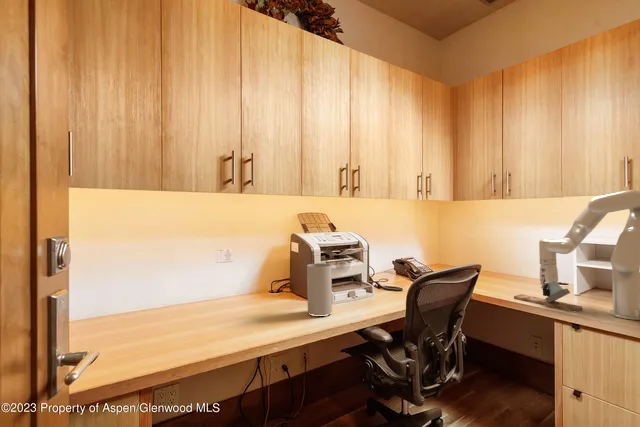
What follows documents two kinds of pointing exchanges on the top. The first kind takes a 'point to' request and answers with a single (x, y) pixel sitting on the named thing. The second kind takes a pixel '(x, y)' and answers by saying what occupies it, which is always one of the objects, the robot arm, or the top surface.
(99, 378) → the top surface
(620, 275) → the robot arm
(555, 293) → the sanding block
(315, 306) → the cylinder vase
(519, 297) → the walnut plank
